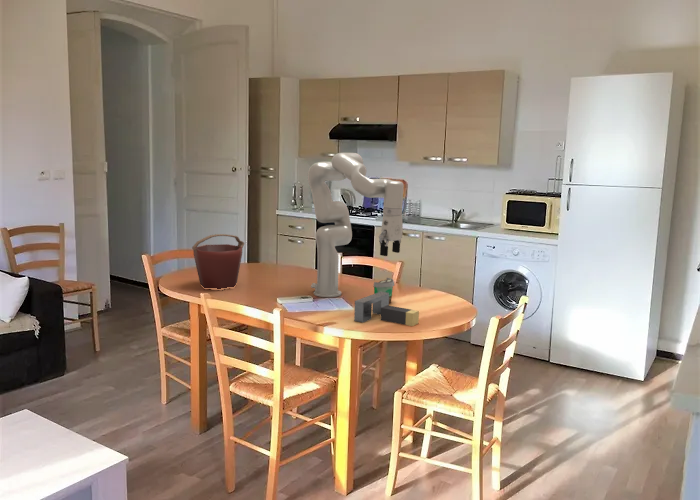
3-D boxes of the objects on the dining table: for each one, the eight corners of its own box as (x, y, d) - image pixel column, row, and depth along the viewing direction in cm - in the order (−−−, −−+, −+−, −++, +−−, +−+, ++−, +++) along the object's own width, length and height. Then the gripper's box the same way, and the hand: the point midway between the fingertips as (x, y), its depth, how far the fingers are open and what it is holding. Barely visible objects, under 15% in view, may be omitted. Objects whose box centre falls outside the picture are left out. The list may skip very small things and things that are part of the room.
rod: (380, 320, 243) (381, 307, 242) (386, 317, 247) (387, 305, 246) (412, 326, 235) (412, 313, 235) (418, 323, 240) (418, 310, 239)
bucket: (243, 280, 306) (242, 230, 302) (248, 291, 286) (248, 237, 281) (192, 282, 300) (191, 231, 296) (193, 293, 279) (192, 238, 275)
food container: (385, 307, 263) (386, 284, 261) (372, 304, 266) (373, 282, 264) (398, 301, 273) (399, 279, 271) (386, 299, 276) (387, 277, 275)
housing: (354, 320, 241) (354, 300, 239) (380, 310, 257) (380, 291, 256) (363, 322, 239) (363, 302, 237) (388, 311, 255) (389, 292, 254)
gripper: (389, 215, 238) (387, 258, 241) (411, 211, 252) (408, 252, 255) (373, 212, 242) (370, 255, 245) (395, 209, 256) (392, 249, 259)
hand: (389, 253), depth 250 cm, fingers open, 9 cm apart
